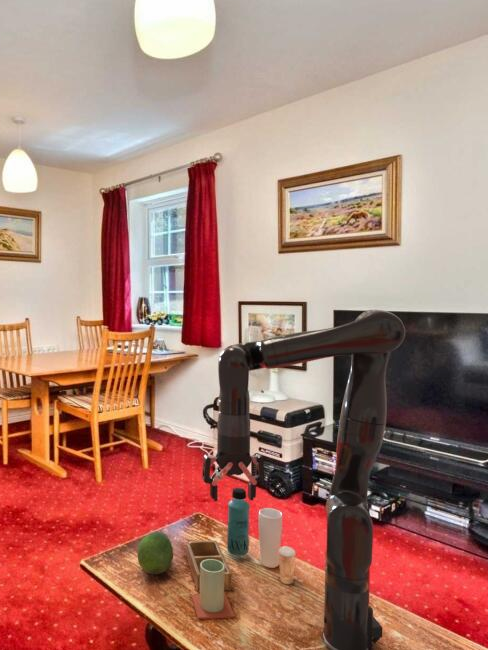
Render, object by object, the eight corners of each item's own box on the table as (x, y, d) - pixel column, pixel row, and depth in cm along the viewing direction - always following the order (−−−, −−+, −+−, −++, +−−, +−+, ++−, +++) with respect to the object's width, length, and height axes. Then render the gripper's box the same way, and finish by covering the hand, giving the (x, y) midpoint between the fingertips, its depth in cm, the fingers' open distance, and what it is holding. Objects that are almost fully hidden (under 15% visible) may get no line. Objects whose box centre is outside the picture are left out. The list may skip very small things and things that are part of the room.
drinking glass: (282, 571, 138) (283, 519, 138) (258, 568, 140) (258, 516, 139) (280, 558, 145) (281, 508, 144) (257, 556, 146) (258, 506, 146)
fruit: (147, 551, 148) (147, 519, 148) (179, 556, 146) (179, 523, 145) (131, 579, 134) (132, 543, 134) (167, 585, 131) (167, 548, 131)
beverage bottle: (222, 552, 148) (223, 487, 147) (240, 548, 151) (241, 483, 150) (235, 563, 142) (236, 495, 142) (253, 558, 145) (254, 491, 144)
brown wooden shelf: (216, 555, 147) (216, 540, 147) (231, 590, 129) (231, 573, 129) (186, 556, 146) (186, 541, 146) (197, 591, 129) (197, 575, 128)
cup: (220, 596, 126) (221, 558, 125) (226, 611, 120) (227, 571, 119) (197, 597, 125) (198, 559, 125) (202, 613, 119) (202, 572, 119)
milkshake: (291, 589, 130) (292, 552, 130) (274, 580, 134) (275, 544, 134) (301, 583, 133) (302, 546, 132) (284, 574, 137) (285, 539, 137)
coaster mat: (225, 594, 127) (225, 592, 127) (234, 617, 118) (234, 615, 118) (191, 596, 127) (191, 594, 127) (197, 619, 118) (197, 617, 118)
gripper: (207, 436, 110) (206, 507, 110) (268, 435, 111) (267, 505, 112) (200, 427, 117) (199, 493, 118) (258, 426, 119) (257, 492, 119)
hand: (232, 499), depth 115 cm, fingers open, 8 cm apart
